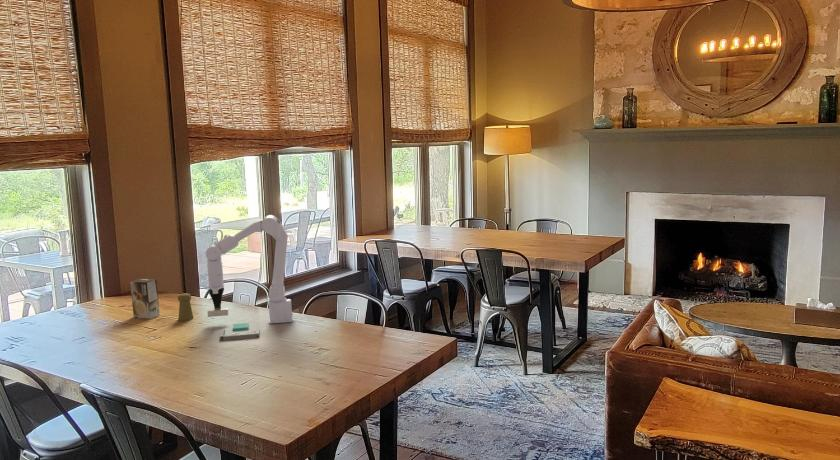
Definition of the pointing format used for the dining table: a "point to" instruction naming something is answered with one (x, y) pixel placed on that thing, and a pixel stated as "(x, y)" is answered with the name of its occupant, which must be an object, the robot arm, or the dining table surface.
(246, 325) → the tile
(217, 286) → the robot arm
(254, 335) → the frame
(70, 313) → the dining table surface
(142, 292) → the coffee box
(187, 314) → the cork
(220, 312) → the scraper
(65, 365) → the dining table surface
